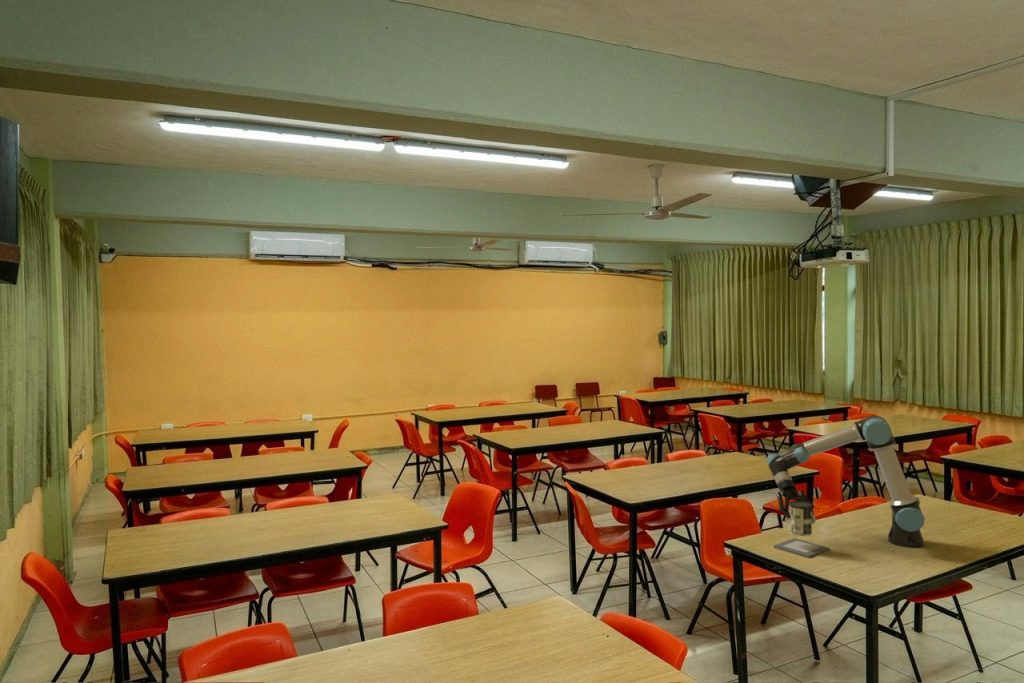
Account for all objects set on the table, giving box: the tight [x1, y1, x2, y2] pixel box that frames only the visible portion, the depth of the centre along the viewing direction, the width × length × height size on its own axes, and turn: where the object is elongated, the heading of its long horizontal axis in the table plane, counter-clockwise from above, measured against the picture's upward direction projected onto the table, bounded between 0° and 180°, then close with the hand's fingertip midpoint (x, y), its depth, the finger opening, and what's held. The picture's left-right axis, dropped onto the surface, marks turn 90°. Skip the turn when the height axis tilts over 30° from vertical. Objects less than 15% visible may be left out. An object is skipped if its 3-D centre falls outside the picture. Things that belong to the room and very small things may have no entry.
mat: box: [773, 537, 831, 559], centre depth 319 cm, size 18×18×1 cm
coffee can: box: [788, 500, 813, 537], centre depth 319 cm, size 10×10×14 cm
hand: (804, 523), depth 316 cm, fingers closed on coffee can, 10 cm apart
